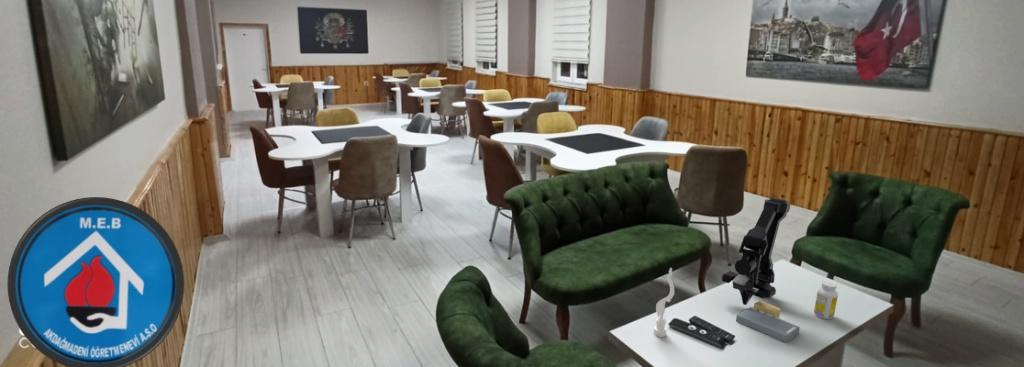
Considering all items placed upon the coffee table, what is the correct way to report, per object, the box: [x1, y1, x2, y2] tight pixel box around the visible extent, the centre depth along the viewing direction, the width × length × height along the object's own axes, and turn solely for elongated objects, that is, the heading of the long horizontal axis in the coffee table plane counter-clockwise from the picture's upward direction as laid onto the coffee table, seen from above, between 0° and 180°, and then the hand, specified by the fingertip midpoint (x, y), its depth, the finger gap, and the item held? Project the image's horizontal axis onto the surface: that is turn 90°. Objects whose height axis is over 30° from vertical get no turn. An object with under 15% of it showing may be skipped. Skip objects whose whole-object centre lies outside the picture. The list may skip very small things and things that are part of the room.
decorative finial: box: [653, 267, 675, 338], centre depth 188 cm, size 6×4×25 cm
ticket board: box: [735, 306, 801, 343], centre depth 198 cm, size 18×10×3 cm, turn 40°
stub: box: [753, 300, 781, 318], centre depth 206 cm, size 8×4×4 cm, turn 40°
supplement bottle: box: [813, 280, 839, 320], centre depth 207 cm, size 7×7×13 cm
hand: (744, 304), depth 212 cm, fingers closed
